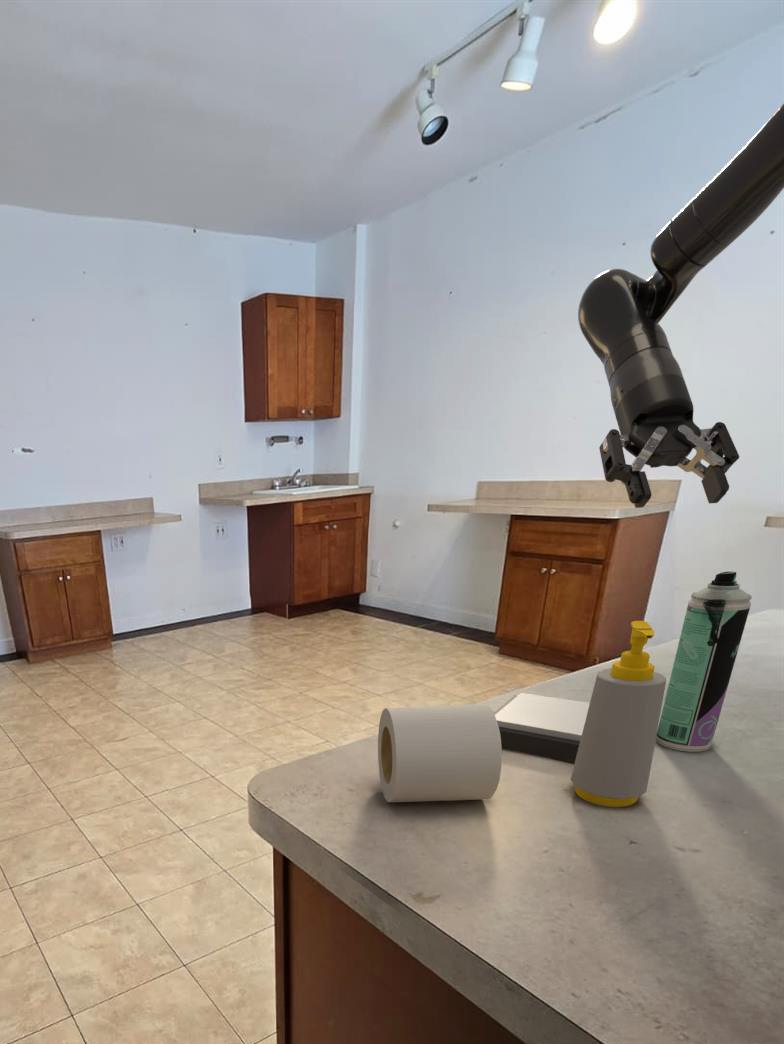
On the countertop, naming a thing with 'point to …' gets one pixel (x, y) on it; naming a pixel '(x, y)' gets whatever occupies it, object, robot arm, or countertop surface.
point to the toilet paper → (439, 753)
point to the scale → (542, 726)
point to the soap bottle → (620, 728)
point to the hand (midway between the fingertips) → (681, 500)
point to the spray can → (703, 664)
